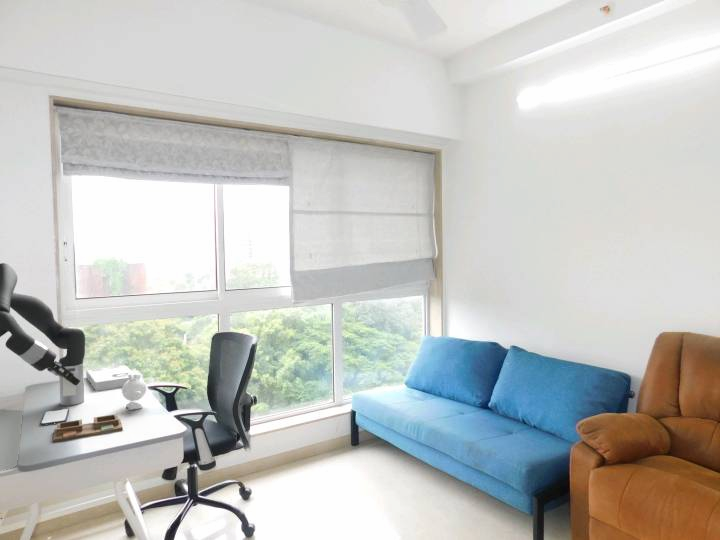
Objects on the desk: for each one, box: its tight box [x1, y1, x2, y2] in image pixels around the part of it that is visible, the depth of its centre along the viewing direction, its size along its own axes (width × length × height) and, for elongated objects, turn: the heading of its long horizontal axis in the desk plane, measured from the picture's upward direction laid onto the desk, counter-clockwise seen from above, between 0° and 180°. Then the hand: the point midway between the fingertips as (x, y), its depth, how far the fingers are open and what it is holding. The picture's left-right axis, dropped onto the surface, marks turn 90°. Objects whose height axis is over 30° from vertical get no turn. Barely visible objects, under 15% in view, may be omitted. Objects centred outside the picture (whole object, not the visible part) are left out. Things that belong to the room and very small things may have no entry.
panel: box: [52, 413, 123, 443], centre depth 182 cm, size 12×22×3 cm, turn 121°
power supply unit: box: [85, 364, 135, 392], centre depth 254 cm, size 19×33×5 cm, turn 36°
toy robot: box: [120, 373, 147, 411], centre depth 210 cm, size 15×10×15 cm, turn 40°
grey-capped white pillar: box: [63, 366, 76, 396], centre depth 181 cm, size 4×4×10 cm
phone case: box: [39, 408, 70, 426], centre depth 197 cm, size 9×2×16 cm
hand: (74, 381), depth 182 cm, fingers closed on grey-capped white pillar, 5 cm apart
